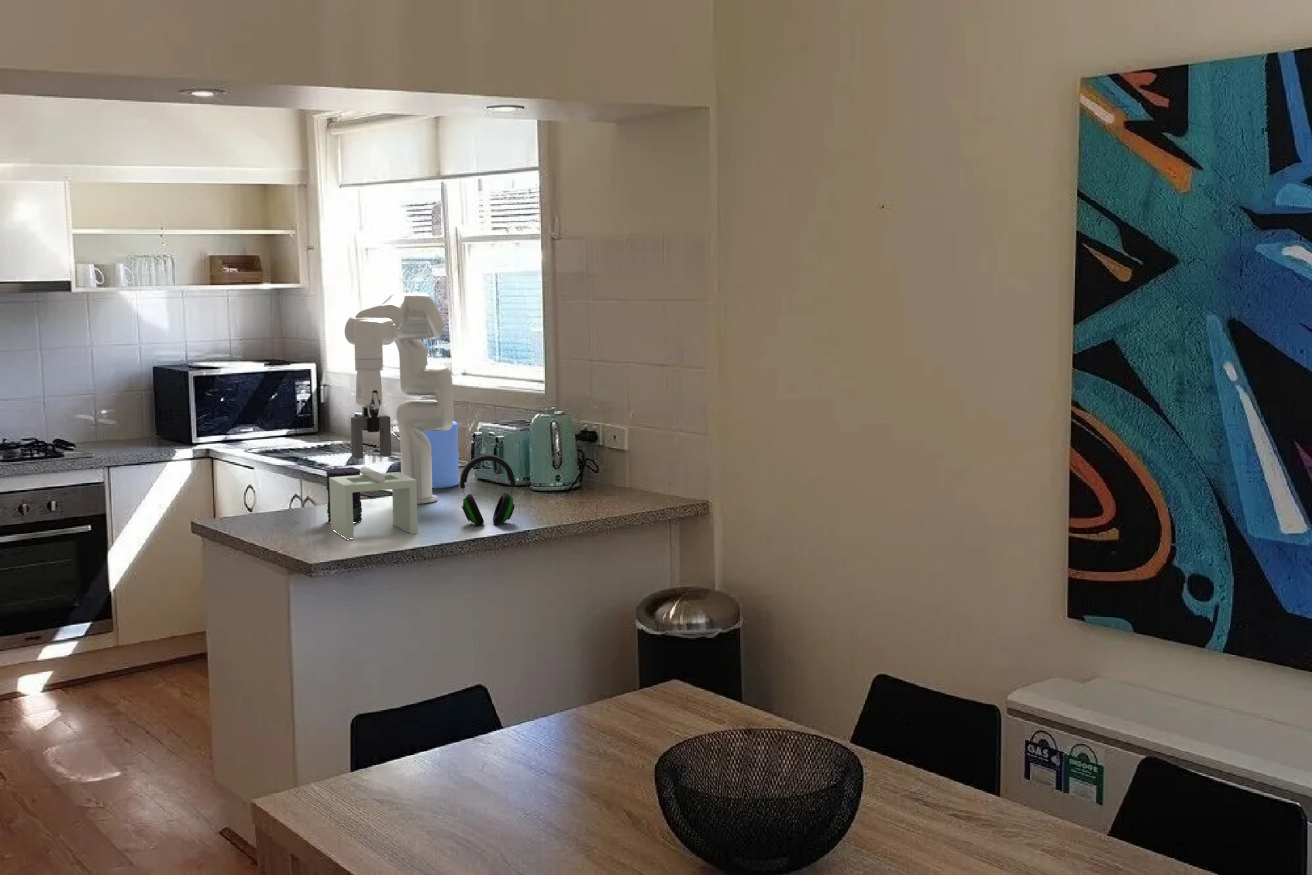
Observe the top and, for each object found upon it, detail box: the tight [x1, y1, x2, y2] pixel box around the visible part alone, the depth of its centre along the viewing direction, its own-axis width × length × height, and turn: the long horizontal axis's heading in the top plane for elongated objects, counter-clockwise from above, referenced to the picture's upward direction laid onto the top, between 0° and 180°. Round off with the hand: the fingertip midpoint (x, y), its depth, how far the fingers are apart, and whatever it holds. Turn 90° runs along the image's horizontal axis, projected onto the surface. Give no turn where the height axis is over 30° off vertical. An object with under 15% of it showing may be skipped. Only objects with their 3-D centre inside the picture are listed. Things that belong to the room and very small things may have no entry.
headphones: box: [459, 453, 516, 526], centre depth 400 cm, size 9×16×20 cm, turn 102°
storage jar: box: [325, 467, 363, 523], centre depth 405 cm, size 10×10×15 cm
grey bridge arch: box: [350, 415, 392, 460], centre depth 387 cm, size 4×10×11 cm, turn 118°
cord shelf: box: [329, 465, 419, 539], centre depth 390 cm, size 16×20×17 cm
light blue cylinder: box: [423, 420, 460, 489], centre depth 467 cm, size 16×16×28 cm
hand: (370, 430), depth 387 cm, fingers closed on grey bridge arch, 4 cm apart
